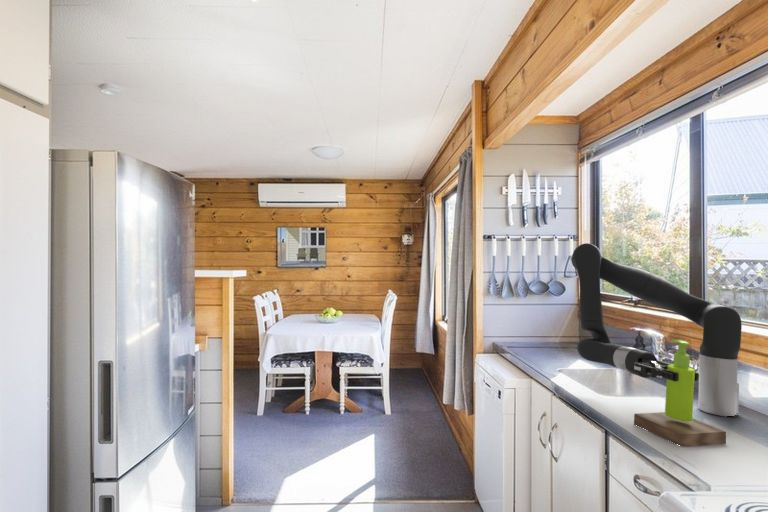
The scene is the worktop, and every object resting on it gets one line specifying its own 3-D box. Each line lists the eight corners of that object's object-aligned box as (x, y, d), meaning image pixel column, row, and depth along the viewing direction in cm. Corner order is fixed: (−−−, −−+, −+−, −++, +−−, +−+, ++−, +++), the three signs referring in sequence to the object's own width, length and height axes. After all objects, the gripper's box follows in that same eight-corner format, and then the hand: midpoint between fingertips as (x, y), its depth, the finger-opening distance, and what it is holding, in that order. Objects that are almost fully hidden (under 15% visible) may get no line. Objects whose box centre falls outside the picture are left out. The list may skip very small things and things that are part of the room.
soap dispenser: (683, 413, 112) (687, 339, 112) (696, 422, 105) (701, 344, 105) (659, 410, 113) (663, 337, 113) (671, 419, 106) (675, 342, 107)
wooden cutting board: (674, 422, 117) (675, 411, 117) (725, 443, 104) (726, 431, 104) (633, 424, 114) (634, 413, 114) (681, 446, 100) (681, 434, 100)
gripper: (614, 348, 122) (665, 363, 105) (654, 348, 125) (710, 362, 109) (613, 374, 121) (664, 392, 105) (653, 373, 125) (709, 391, 108)
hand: (687, 377), depth 107 cm, fingers closed on soap dispenser, 6 cm apart
